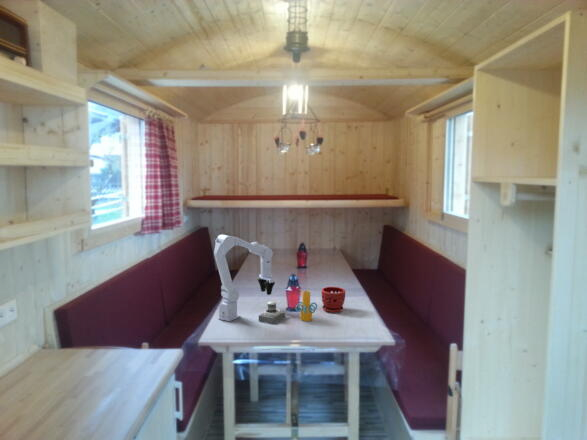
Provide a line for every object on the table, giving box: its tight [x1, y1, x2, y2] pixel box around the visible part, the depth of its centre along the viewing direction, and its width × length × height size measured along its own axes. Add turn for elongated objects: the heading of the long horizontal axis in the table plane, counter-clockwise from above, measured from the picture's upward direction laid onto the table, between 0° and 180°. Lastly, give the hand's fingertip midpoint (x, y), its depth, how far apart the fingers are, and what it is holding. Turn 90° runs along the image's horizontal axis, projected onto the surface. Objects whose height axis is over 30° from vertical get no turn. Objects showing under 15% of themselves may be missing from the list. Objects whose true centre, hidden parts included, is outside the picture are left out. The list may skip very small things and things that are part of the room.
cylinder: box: [294, 289, 318, 322], centre depth 225 cm, size 12×10×15 cm
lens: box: [266, 300, 277, 313], centre depth 226 cm, size 5×5×6 cm
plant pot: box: [321, 286, 346, 314], centre depth 240 cm, size 13×13×12 cm
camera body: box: [258, 308, 286, 325], centre depth 226 cm, size 12×8×4 cm
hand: (266, 293), depth 241 cm, fingers open, 7 cm apart
